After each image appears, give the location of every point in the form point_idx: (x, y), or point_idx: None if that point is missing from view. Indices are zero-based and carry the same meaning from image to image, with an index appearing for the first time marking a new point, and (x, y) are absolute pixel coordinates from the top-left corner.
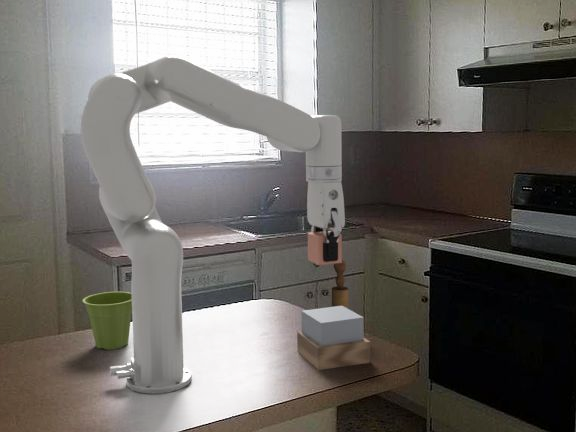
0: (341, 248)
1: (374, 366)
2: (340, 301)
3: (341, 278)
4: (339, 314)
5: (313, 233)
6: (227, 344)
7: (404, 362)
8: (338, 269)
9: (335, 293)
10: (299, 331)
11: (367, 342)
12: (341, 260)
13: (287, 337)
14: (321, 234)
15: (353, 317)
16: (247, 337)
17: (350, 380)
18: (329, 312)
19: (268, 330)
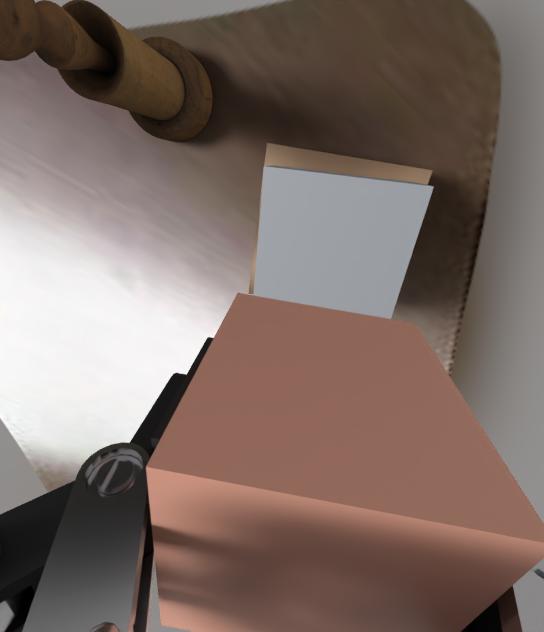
0: (456, 392)
1: (439, 176)
2: (148, 87)
3: (68, 37)
4: (350, 240)
5: (216, 620)
6: (163, 362)
7: (480, 73)
8: (33, 47)
9: (119, 99)
10: (250, 289)
11: (427, 180)
12: (420, 333)
13: (163, 247)
14: (318, 619)
15: (409, 220)
16: (136, 317)
17: (459, 275)
18: (312, 255)
19: (102, 260)
